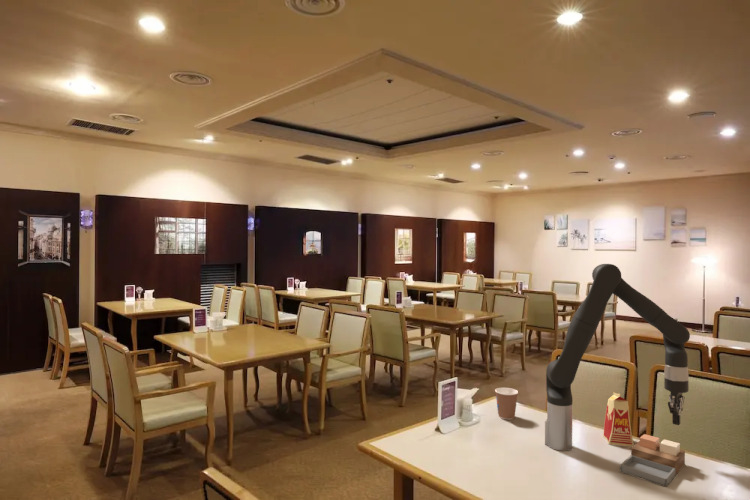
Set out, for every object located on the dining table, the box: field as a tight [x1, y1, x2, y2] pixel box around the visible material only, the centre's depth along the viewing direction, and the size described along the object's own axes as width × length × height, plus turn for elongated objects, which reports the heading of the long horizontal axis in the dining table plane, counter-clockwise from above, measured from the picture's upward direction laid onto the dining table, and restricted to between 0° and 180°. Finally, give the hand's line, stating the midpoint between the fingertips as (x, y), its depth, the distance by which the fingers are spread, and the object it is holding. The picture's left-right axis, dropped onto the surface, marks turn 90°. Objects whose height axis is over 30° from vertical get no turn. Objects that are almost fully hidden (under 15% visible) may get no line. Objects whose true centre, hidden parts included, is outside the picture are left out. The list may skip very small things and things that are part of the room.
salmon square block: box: [639, 433, 660, 450], centre depth 172 cm, size 5×5×3 cm
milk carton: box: [603, 391, 635, 448], centre depth 188 cm, size 9×9×20 cm
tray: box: [619, 454, 677, 487], centre depth 161 cm, size 14×11×2 cm
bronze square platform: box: [630, 440, 686, 475], centre depth 169 cm, size 14×12×5 cm
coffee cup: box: [494, 387, 519, 420], centre depth 214 cm, size 10×10×12 cm
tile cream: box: [659, 439, 681, 456], centre depth 167 cm, size 5×5×3 cm
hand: (676, 424), depth 172 cm, fingers closed
